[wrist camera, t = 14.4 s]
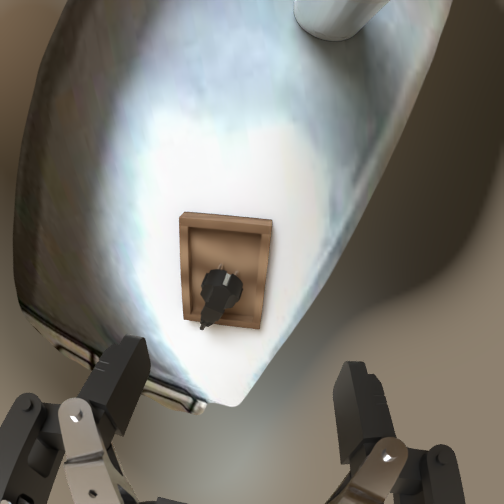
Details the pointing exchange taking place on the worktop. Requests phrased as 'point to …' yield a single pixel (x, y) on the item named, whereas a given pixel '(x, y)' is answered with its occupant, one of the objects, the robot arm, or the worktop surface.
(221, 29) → the worktop surface
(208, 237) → the brown tray
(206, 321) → the power plug
